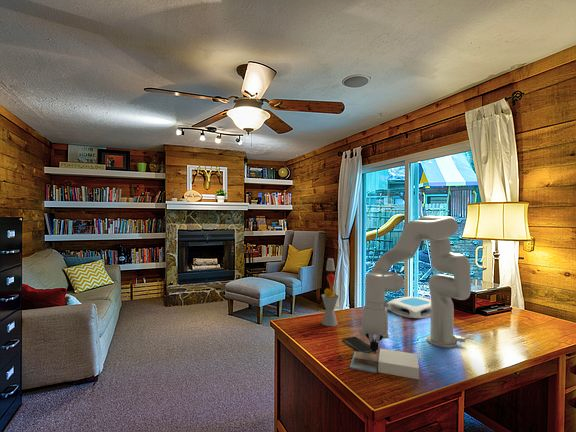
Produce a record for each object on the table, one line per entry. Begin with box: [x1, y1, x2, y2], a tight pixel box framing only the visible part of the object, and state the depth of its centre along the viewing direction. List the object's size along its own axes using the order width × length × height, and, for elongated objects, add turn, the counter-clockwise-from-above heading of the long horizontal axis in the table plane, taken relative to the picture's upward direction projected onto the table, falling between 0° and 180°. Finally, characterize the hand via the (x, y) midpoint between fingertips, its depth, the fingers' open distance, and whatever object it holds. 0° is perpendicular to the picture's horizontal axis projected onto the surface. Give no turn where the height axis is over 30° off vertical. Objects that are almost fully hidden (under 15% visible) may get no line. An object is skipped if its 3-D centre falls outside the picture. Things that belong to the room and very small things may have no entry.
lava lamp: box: [321, 257, 339, 327], centre depth 165 cm, size 9×9×35 cm
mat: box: [349, 351, 378, 374], centre depth 122 cm, size 10×14×1 cm
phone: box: [342, 336, 373, 353], centre depth 138 cm, size 8×1×15 cm
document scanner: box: [385, 296, 431, 319], centre depth 188 cm, size 21×28×6 cm
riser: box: [377, 348, 420, 380], centre depth 118 cm, size 14×12×4 cm
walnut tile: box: [354, 351, 379, 368], centre depth 122 cm, size 9×6×2 cm, turn 69°
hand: (374, 351), depth 121 cm, fingers closed
